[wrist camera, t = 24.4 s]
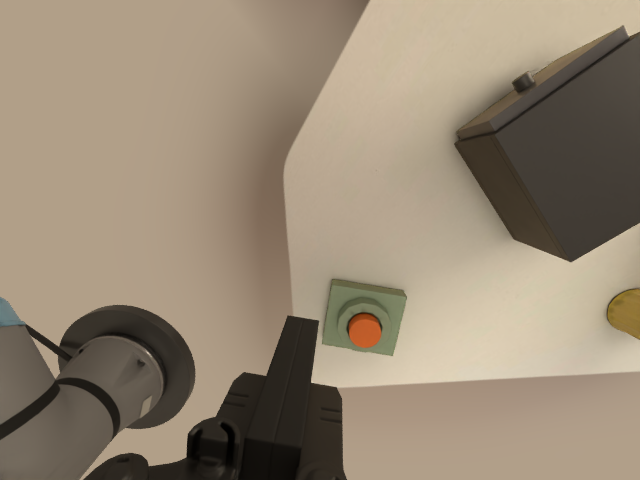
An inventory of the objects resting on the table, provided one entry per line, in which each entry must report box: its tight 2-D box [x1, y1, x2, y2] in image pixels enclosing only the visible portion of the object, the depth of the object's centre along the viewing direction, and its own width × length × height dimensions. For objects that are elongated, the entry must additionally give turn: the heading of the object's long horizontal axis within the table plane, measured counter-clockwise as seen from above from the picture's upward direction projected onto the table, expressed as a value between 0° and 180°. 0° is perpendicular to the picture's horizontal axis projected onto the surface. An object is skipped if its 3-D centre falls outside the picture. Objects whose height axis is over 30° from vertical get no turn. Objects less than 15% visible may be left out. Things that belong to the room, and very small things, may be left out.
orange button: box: [349, 313, 381, 348], centre depth 38 cm, size 4×4×2 cm
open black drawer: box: [456, 26, 630, 140], centre depth 31 cm, size 15×13×8 cm
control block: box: [322, 279, 407, 356], centre depth 40 cm, size 10×9×4 cm
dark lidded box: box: [454, 32, 640, 262], centre depth 31 cm, size 15×14×10 cm
